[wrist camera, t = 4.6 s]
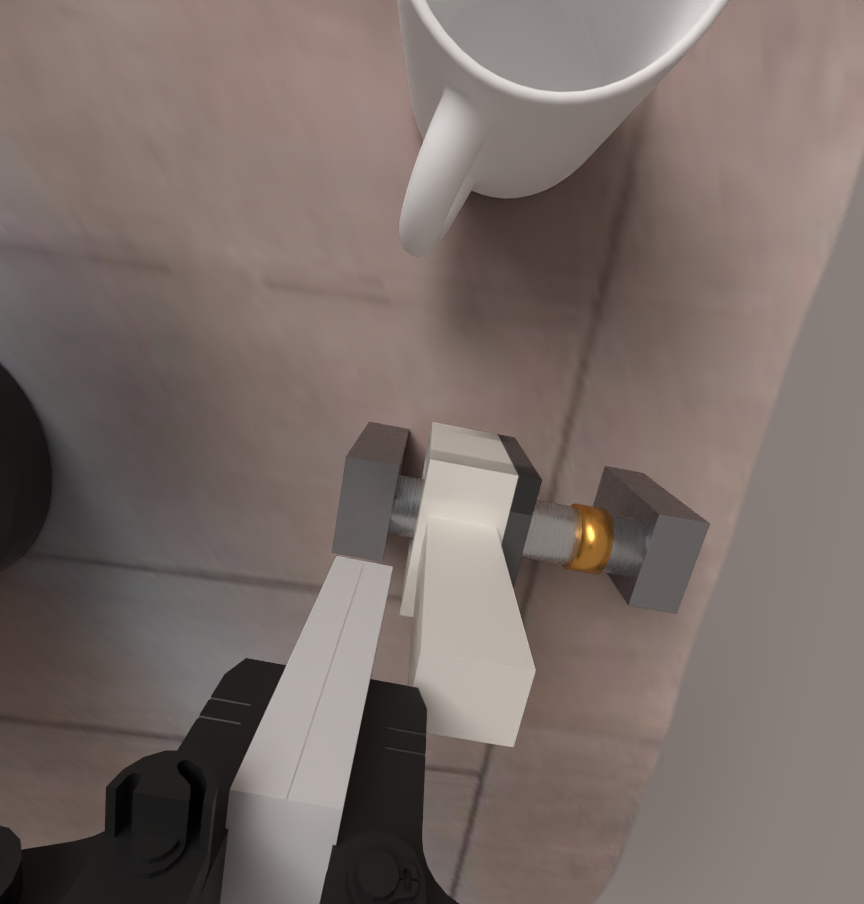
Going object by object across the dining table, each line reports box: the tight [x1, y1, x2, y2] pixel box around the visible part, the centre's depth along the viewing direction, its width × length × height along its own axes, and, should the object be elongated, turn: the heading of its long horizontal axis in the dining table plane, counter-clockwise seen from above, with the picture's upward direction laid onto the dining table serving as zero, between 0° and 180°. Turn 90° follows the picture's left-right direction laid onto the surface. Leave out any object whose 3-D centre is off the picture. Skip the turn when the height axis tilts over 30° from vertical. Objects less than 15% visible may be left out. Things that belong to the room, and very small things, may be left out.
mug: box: [397, 0, 729, 257], centre depth 16 cm, size 12×8×10 cm
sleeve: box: [400, 422, 542, 747], centre depth 16 cm, size 4×6×13 cm, turn 169°
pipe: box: [332, 422, 710, 614], centre depth 22 cm, size 14×4×6 cm, turn 79°
